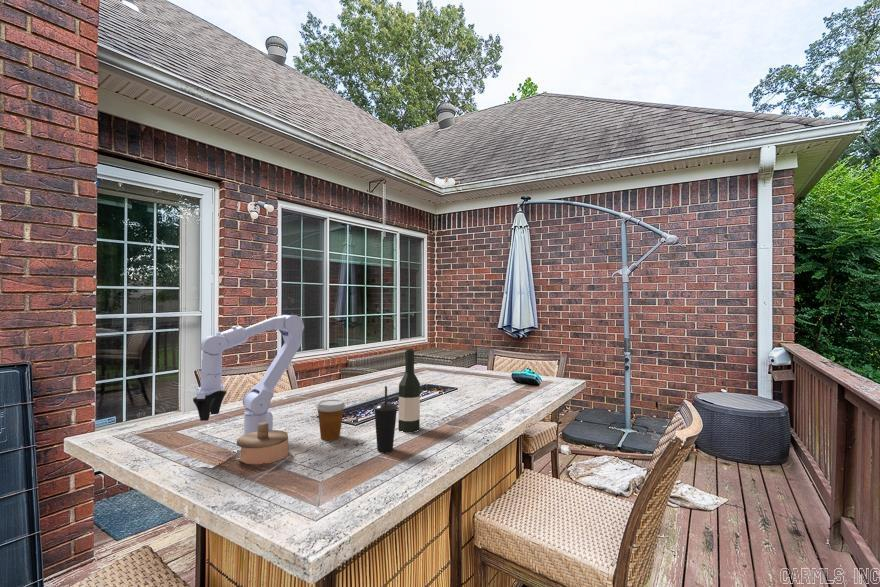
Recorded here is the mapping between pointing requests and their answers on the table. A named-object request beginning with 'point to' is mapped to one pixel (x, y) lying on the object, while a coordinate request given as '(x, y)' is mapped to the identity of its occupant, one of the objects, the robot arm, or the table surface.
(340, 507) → the table surface
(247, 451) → the bowl
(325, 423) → the disposable coffee cup
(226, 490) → the table surface
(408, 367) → the wine bottle
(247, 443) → the lid
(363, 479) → the table surface
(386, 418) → the drinking cup
